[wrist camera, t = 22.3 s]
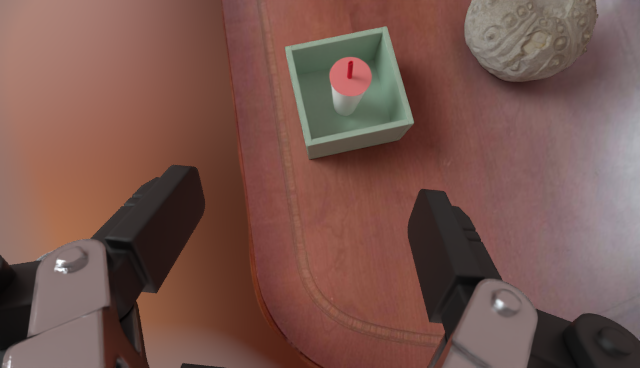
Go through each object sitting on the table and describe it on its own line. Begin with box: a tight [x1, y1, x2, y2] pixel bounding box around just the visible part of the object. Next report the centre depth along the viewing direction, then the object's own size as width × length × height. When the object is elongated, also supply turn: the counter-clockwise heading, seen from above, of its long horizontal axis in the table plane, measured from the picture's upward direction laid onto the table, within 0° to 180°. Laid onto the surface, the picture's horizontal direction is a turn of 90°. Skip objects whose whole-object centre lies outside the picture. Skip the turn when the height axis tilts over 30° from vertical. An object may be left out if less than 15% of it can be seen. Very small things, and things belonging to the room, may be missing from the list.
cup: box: [329, 57, 372, 116], centre depth 39 cm, size 5×5×12 cm
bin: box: [285, 27, 414, 159], centre depth 42 cm, size 15×15×7 cm
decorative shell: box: [464, 0, 598, 82], centre depth 42 cm, size 18×18×10 cm
